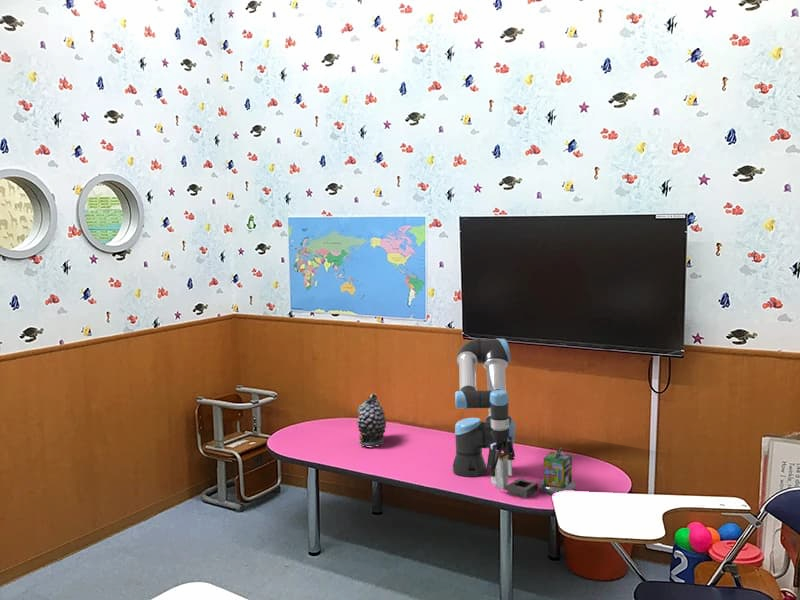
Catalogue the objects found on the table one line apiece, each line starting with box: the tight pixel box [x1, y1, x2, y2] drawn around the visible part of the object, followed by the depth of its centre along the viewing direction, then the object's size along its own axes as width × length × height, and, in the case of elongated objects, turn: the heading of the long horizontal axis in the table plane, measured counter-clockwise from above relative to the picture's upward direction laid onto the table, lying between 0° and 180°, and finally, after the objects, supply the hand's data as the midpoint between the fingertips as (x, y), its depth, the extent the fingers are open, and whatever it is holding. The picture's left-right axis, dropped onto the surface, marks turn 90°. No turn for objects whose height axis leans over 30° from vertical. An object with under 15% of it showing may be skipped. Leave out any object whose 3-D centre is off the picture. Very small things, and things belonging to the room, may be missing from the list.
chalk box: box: [543, 447, 573, 488], centre depth 285 cm, size 9×9×15 cm
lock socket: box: [506, 478, 539, 499], centre depth 284 cm, size 9×9×4 cm
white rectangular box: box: [494, 452, 510, 490], centre depth 290 cm, size 4×4×14 cm
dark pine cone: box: [356, 392, 387, 446], centre depth 355 cm, size 21×15×25 cm
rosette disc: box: [539, 478, 576, 496], centre depth 286 cm, size 14×14×2 cm
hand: (501, 479), depth 291 cm, fingers open, 11 cm apart
